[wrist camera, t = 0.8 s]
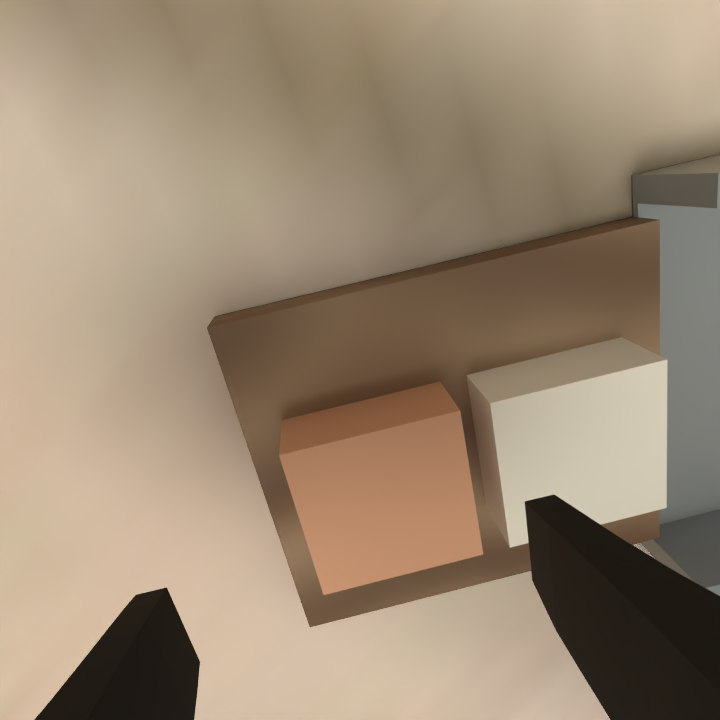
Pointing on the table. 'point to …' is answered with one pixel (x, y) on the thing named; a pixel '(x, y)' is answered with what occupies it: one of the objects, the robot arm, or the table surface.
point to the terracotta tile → (382, 486)
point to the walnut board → (433, 369)
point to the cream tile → (573, 433)
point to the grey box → (689, 360)
